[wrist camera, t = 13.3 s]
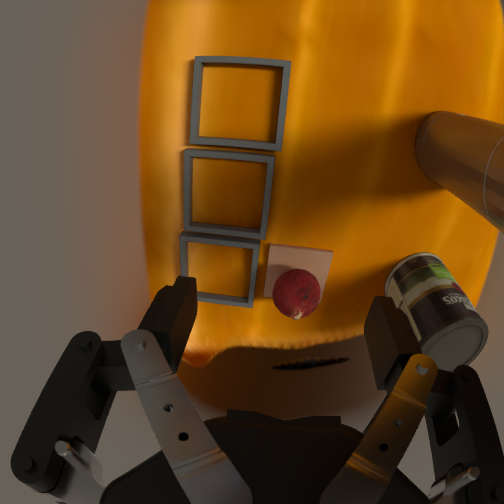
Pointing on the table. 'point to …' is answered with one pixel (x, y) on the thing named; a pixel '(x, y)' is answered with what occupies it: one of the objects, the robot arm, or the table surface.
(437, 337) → the coffee can
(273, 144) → the tray
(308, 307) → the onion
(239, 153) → the tray
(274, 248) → the tile
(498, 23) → the table surface
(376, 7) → the table surface
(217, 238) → the tray
